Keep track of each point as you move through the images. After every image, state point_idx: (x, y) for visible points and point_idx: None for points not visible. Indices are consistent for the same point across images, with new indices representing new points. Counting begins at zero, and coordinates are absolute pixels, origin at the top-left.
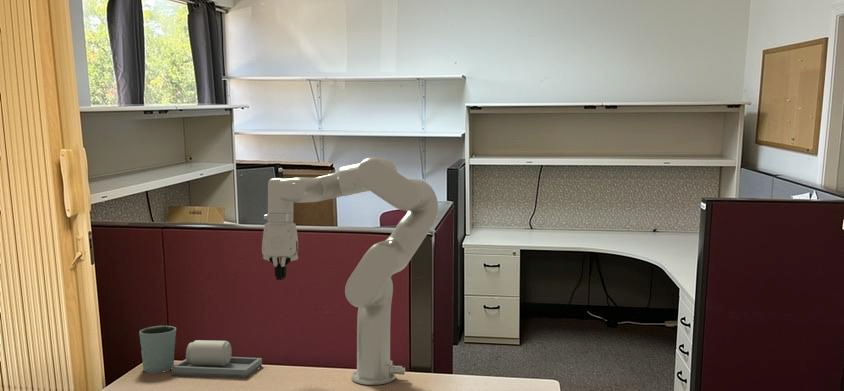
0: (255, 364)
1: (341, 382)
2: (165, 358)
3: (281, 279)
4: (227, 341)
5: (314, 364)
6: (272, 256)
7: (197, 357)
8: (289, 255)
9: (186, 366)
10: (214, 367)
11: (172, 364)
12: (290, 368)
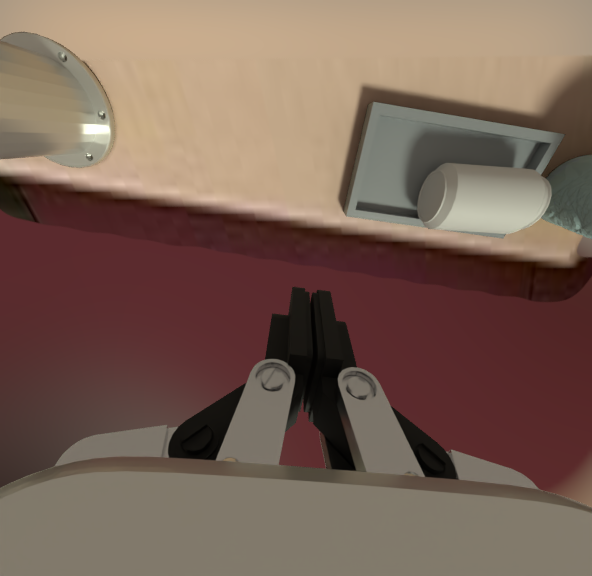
0: (355, 174)
1: (123, 70)
2: (587, 169)
3: (292, 291)
4: (446, 214)
5: (236, 225)
6: (439, 479)
7: (508, 167)
8: (59, 479)
9: (526, 138)
10: None
11: None
12: (279, 195)
